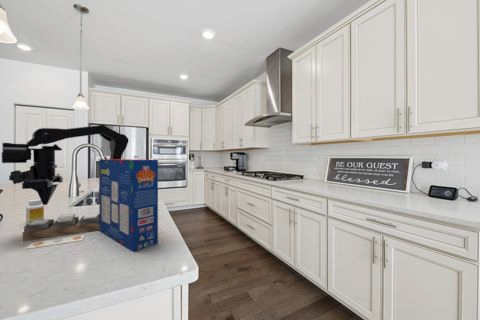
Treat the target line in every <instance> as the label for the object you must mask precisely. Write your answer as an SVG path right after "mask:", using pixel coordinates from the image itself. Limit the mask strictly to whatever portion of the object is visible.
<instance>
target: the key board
mask: <svg viewBox="0 0 480 320" xmlns="http://www.w3.org/2000/svg"><path fill="white" fill-rule="evenodd" d="M97 214H98V213H97ZM84 216H85V215H82V217H81V218H80V217H79V216H75V220H74V221H66V222H58V223H57V219H56V220H55V218H53V219H50V222H48V223H47V224H40V225H31V226H29V224H30V223H29V224H27V223H26V225H24V226H23V232H22V242H26V241H27V242H29V241H33V240H39V239H40V240H41V239H48V238H55V237H62V236H69V235H78V234H83V233H92V232H93V233H94V232H100V231H99V214H98V218H93V219H84V220H83V217H84Z"/></svg>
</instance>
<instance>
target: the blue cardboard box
mask: <svg viewBox="0 0 480 320" xmlns="http://www.w3.org/2000/svg"><path fill="white" fill-rule="evenodd" d="M98 164H99V169H98V170H99V180H98V181H99V182H98V183H99V184H98V185H99V187H98V193H99V196H98V200H99V202H98V203H99V204H98V205H99V207H98V210H99V211H98V212H99V231H98V232H100V233H101V234H103V235H105V236H107V237H108V238H109V239H111V240H113V241H114V242H116V243H118V244H119V245H121V246H122V247H124V248H125V249H127V250H128V251H130V252H132V253H135V252H137V251H141V250H144V249H146V248H149V247H151V246H155V245H156V244H157V245H158V242H159V159H123V158H121V159H110V158H108V159H106V158H103V159H102V158H101V159H99V161H98Z"/></svg>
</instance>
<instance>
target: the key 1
mask: <svg viewBox="0 0 480 320" xmlns="http://www.w3.org/2000/svg"><path fill="white" fill-rule="evenodd" d="M50 220H51V219H50V218H48V219H47V218H46V219H44V220H36V221H33V222H31V223H30V224H29V226H31V225H40V224H47V223H48V222H50Z"/></svg>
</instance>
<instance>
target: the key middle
mask: <svg viewBox="0 0 480 320" xmlns="http://www.w3.org/2000/svg"><path fill="white" fill-rule="evenodd" d="M75 217H76V212H74V213H73V212H72V213H65V214H60V215H59V216H57V217H56V220H57V223H58V222H66V221H74V220H75Z"/></svg>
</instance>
